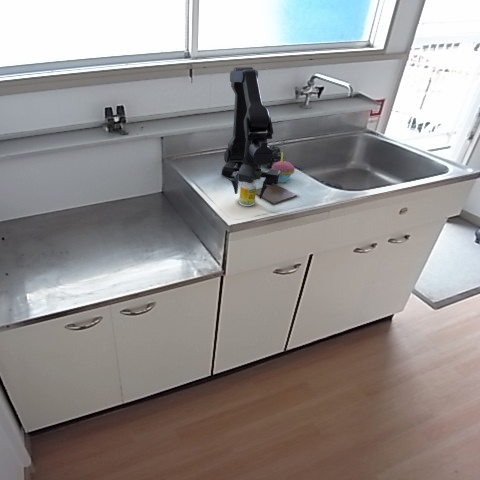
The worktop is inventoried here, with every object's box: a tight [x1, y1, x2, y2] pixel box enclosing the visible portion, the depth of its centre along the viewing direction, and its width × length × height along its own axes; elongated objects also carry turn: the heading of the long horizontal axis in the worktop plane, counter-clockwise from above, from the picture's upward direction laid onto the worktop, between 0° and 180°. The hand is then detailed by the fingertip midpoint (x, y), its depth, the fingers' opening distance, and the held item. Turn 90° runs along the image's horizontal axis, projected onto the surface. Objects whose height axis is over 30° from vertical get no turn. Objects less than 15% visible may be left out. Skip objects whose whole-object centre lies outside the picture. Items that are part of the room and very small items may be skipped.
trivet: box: [256, 184, 298, 205], centre depth 140 cm, size 11×11×1 cm
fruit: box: [263, 145, 284, 168], centre depth 162 cm, size 9×8×15 cm
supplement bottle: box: [238, 179, 258, 207], centre depth 133 cm, size 5×5×10 cm
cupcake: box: [271, 152, 296, 183], centre depth 147 cm, size 9×8×12 cm
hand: (248, 195), depth 135 cm, fingers open, 8 cm apart
